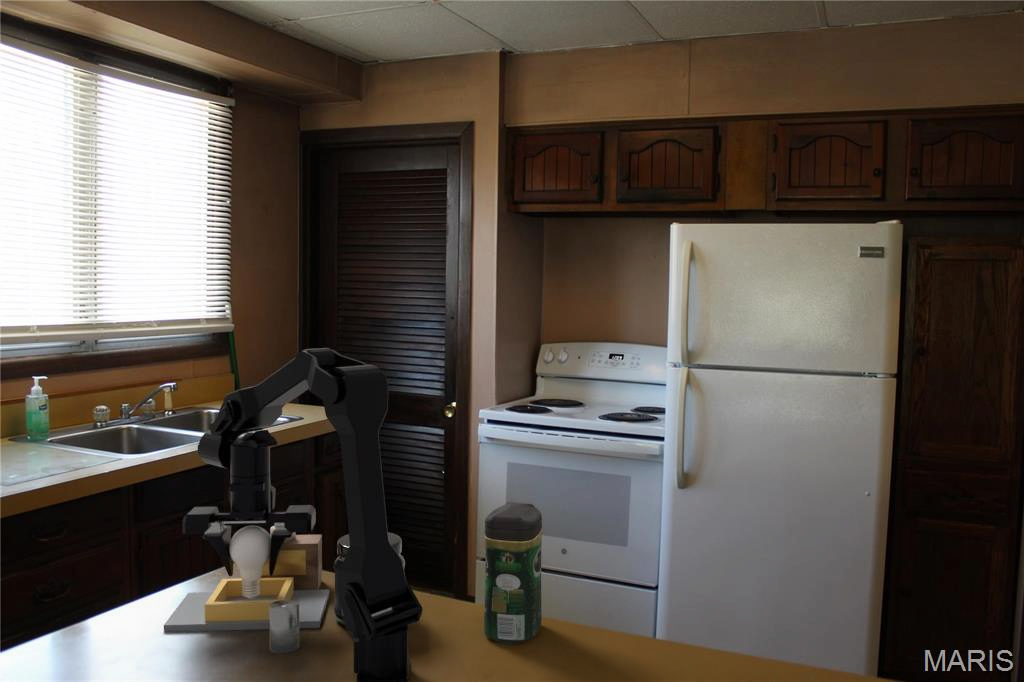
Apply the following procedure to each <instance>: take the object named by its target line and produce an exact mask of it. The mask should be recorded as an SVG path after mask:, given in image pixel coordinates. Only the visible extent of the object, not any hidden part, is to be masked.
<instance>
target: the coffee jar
mask: <svg viewBox="0 0 1024 682" xmlns="http://www.w3.org/2000/svg"><path fill="white" fill-rule="evenodd" d="M542 521H543V518H542V513H541V511H540V510H539V509H538V508H537V507H535V506H534V505H533V504H532V503H526V502H511V501H508V502H506V503H505V504H503V505H501V506H499V507H497V508H495V509H494V510H492V511H491V512H490V513H489V514H487V516H486V517H485V519H484V535H483V538H484V554H485V562H484V563H485V571H484V573H485V574H484V575H485V576H484V578H485V579H484V610H483V611H484V613H483V618H484V619H483V632H484V635H485V636H486V637H487V638H489V639H491V640H494V641H497V642H499V643H502V644H508V645H509V644H511V645H512V644H515V643H516V644H518V643H527V642H530V641H532V640H533V638H534V637H536V635H537V634H538V632H539V630H540V628H541V625H542V615H543V614H542V544H543V543H542V538H543V535H542V534H543V522H542Z"/></svg>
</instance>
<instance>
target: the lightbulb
mask: <svg viewBox="0 0 1024 682" xmlns="http://www.w3.org/2000/svg"><path fill="white" fill-rule="evenodd" d="M270 547H271V536H270V533H269V531H267V529H265V528H263V527H261V526H259V525H246V526H244V527H241V528H240V529H238V530H237V531H235V533H234V534H233V536H232V537H231V541H230V544H229V553H230V556H231V559H232V560H233V564H234V565H235V566H236V568H237V570H238V571H239V576H240V577H239V578H242V585H243V586H242V590H243V591H242V595H243V596H245V597H247V598H250V599H251V598H255V597H256V596H257V595H259V594H260V593H261V591H260V587H261V586H260V581H261V580H260V578H261V576H262V573H263V568H264V566H265V564H266V562H267V561H268V559H269V558H270Z"/></svg>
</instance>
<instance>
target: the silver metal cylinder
mask: <svg viewBox="0 0 1024 682" xmlns="http://www.w3.org/2000/svg"><path fill="white" fill-rule="evenodd" d="M268 632H269V633H268V636H269V638H268V639H269V640H268V644H269V645H268V646H269V647H268V648H269V651H270V652H271V653H274V654H278V655H280V654H281V655H283V654H290V653H293V652H296V651H297V650H298V649H299V648H300V628H299V603H298V602H297V601H294V600H280V601H276V602H273V603H271V604H270V605H269V629H268Z"/></svg>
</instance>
